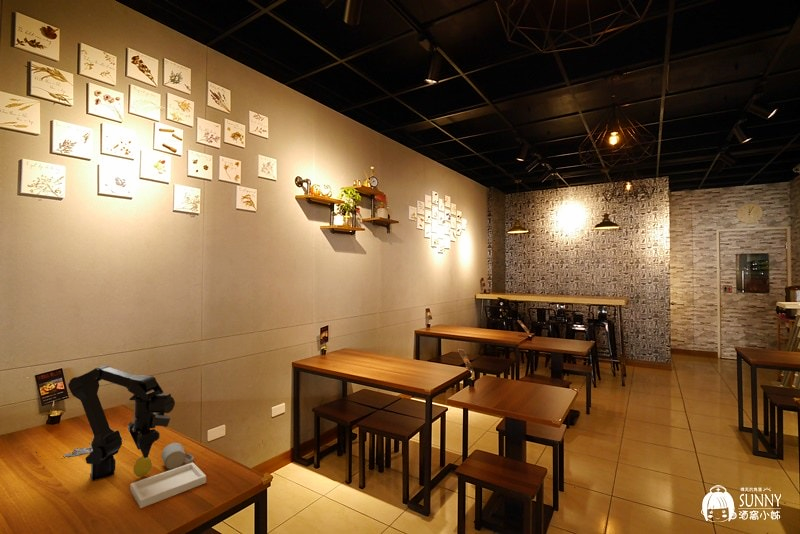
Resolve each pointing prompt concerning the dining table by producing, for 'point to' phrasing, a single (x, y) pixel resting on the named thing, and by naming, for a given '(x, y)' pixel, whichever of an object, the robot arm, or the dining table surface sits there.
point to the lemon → (142, 466)
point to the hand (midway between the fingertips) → (142, 453)
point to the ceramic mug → (175, 456)
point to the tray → (167, 484)
